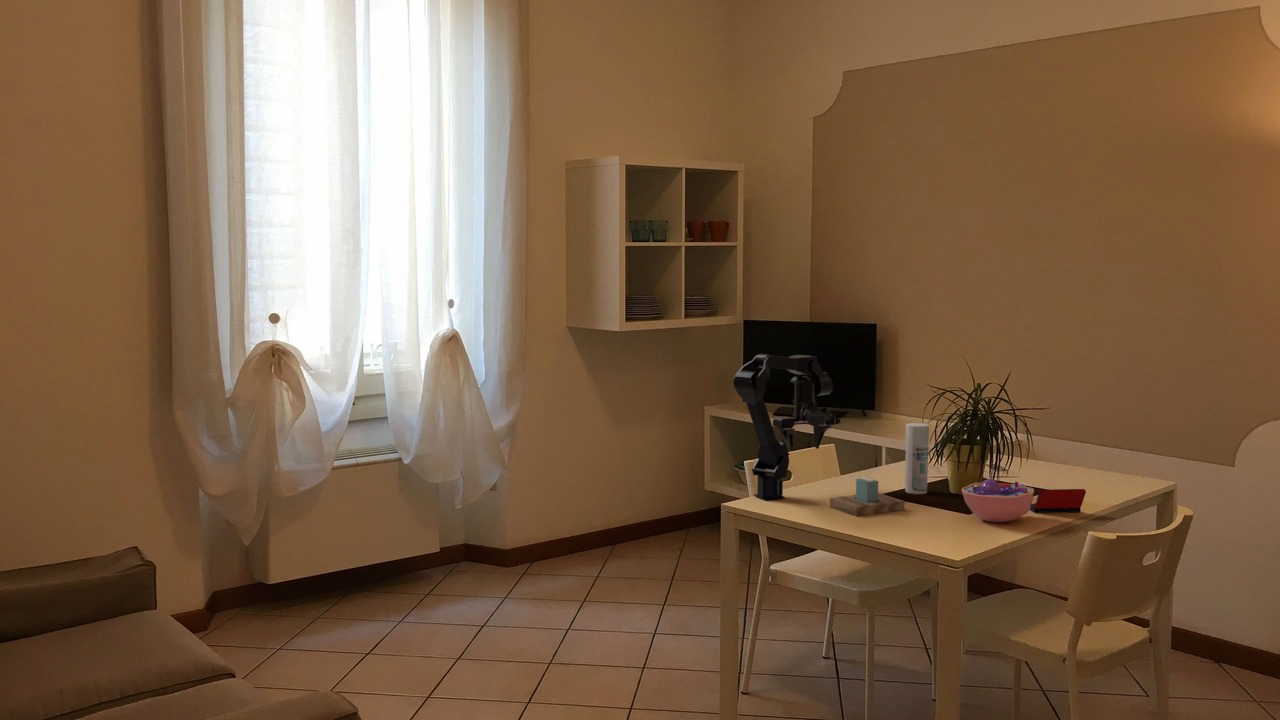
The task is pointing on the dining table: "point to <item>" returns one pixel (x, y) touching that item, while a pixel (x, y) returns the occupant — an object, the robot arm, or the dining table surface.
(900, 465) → the dining table surface
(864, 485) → the keyed peg
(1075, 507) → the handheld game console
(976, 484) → the cell model
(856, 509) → the socket block
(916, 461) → the spray can
